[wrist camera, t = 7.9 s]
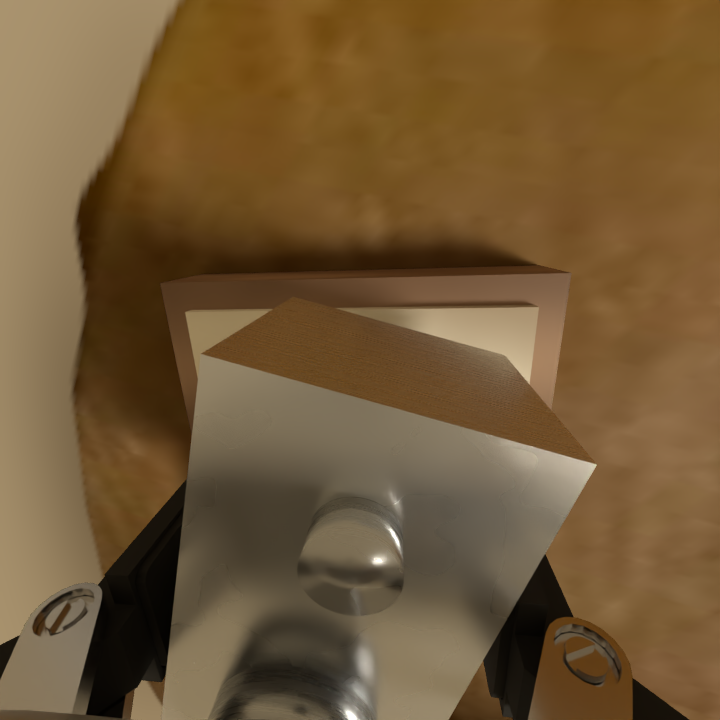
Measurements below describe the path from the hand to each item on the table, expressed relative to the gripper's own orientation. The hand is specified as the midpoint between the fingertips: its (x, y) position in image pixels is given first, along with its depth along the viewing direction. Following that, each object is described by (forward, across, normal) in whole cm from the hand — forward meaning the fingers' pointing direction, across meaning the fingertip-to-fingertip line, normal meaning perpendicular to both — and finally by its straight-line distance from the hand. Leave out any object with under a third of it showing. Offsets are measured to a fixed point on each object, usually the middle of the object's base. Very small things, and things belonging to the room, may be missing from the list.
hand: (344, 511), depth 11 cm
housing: (+1, 0, 0) cm, 1 cm away
